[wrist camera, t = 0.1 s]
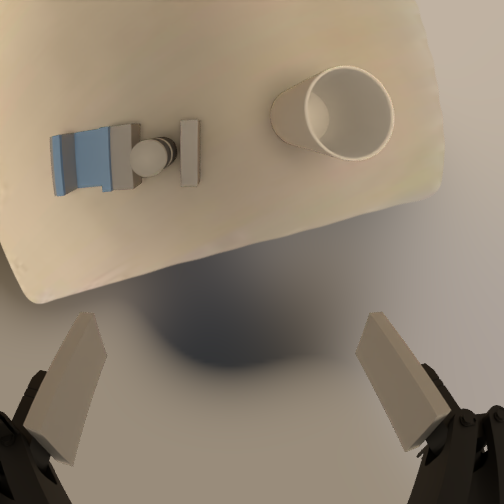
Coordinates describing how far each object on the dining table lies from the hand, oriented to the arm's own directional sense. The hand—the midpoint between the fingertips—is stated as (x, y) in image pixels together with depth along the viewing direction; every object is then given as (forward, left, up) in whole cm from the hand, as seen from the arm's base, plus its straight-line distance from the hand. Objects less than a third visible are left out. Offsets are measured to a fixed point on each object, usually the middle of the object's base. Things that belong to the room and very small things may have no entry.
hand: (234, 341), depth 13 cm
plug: (-6, -8, -28) cm, 30 cm away
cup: (-11, +10, -28) cm, 32 cm away
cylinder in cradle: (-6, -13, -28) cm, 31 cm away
